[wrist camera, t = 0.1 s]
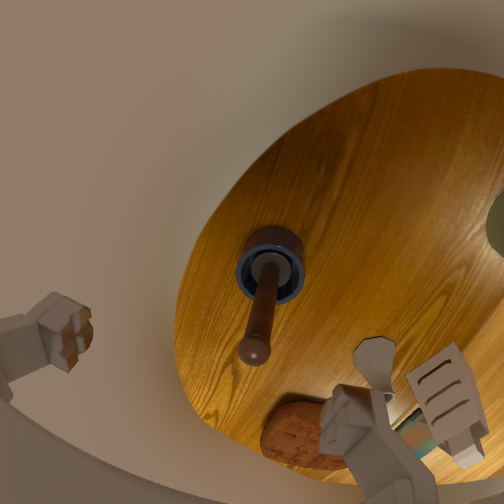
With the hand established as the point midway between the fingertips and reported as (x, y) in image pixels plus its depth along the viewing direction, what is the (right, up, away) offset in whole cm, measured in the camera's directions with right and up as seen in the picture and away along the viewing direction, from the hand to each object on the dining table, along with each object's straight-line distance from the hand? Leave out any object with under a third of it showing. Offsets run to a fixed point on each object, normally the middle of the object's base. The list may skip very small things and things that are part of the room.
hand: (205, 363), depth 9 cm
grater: (+36, -18, +36) cm, 54 cm away
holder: (+4, +3, +31) cm, 32 cm away
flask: (+21, -13, +36) cm, 43 cm away
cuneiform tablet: (+15, -31, +45) cm, 57 cm away
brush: (+4, +3, +31) cm, 31 cm away
